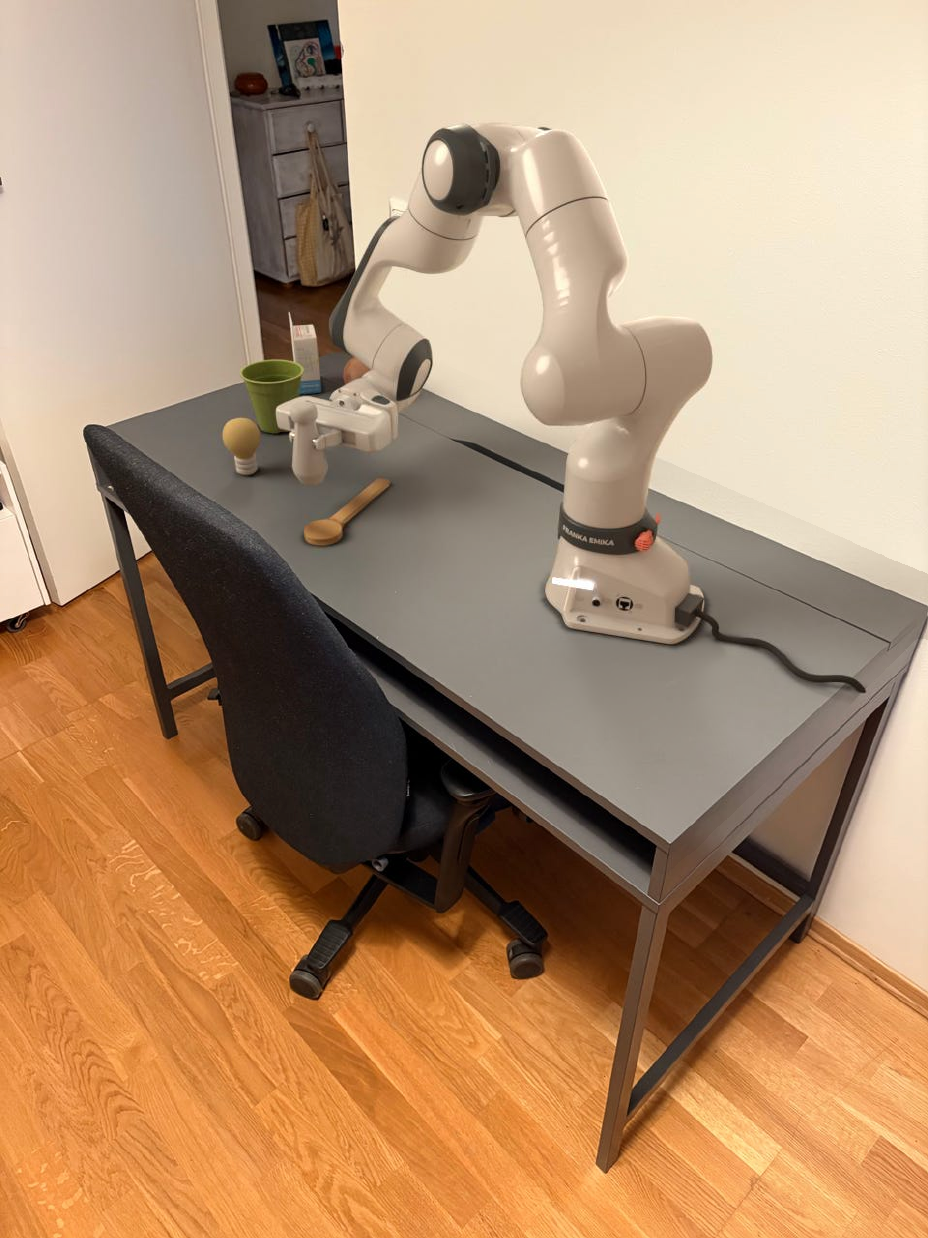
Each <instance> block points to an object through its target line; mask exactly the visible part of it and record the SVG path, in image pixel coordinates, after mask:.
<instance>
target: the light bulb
mask: <svg viewBox="0 0 928 1238" xmlns="http://www.w3.org/2000/svg"><path fill="white" fill-rule="evenodd" d="M260 431H261V430H260V427H259V426H258V424H256V423H255V422H254V421H253V420H251V419H250V418H246V417H236V418H233V419H230V420H229V421H227V422H226V424H225V425H224V427H223V430H222V441H223V444H224V446H225V447H226V449H227V450H229V452H230V453H232V454H233V460H234V466H235V471H236V473H238V474H240V475H242V476H250V475H253V474H254V473H256V472H257V471H258V463H257V456H256V451H257V449H258V448H259V446H260V443H261V439H262V436H261V432H260Z"/></svg>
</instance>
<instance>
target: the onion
mask: <svg viewBox="0 0 928 1238" xmlns="http://www.w3.org/2000/svg"><path fill="white" fill-rule="evenodd" d="M370 370H371V369H370V368H368V367H367V366H366V365H364V364H363V363H362V362H360V361H359V360H358V359H356V358H355V357H354V356H353V357H352V358H350V359H349V360H348V361H347V362H346V364H345V366H344V368H343V374H342V375H343V381H344V385H346V384H348V383H350V382H351V381H353V380H355V379H359V378H362V376H363V375H364V374H366V373H367V372H369V371H370Z"/></svg>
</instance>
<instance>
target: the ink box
mask: <svg viewBox="0 0 928 1238" xmlns="http://www.w3.org/2000/svg"><path fill="white" fill-rule="evenodd" d="M288 318H289V328H290V339H291V350H292V358H293V362H295V363H298V364H300V365H301V366H302V367H303V368H304V373H303V374H302V376H301V384H300V386H299V395H307V394H318V393H319V394H320V393H322V383H321V373H320V361H319V348H318V338H317V334H316V329H315V326H314V324H303V325H293V321H292V317H291V313H290V311H288Z"/></svg>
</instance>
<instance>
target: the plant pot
mask: <svg viewBox="0 0 928 1238" xmlns="http://www.w3.org/2000/svg"><path fill="white" fill-rule="evenodd" d="M303 373H304V368H303V367H302V366H301V365H300V364H298V363H295V362H294V360H293V361H292V360H287V359H264V360H258V361H255V362H252V363H249V364H247V365H244V366H243V367H242V368H241V369H240V370H239V377H240V378H241V379H242V380H243V381H244V384H245V387H246V389H247V391H248V394H249V398H250V401H251V404H252V407H253V411H254V414H255V417H256V422H257V425H258V428H259V430H260V431H262V432H264V433H267V434H279V433H281V432H283V433H288V432H289V433H290V431H287V430H284V429H280V428H279V427H278V425H277V420H276V408H277V407H278V406H279V405H281V404H283V403H285V402H288V401H290V400H292V399H295V398H298V397H300V394H299V386H300V384H301V376H302V374H303Z"/></svg>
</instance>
